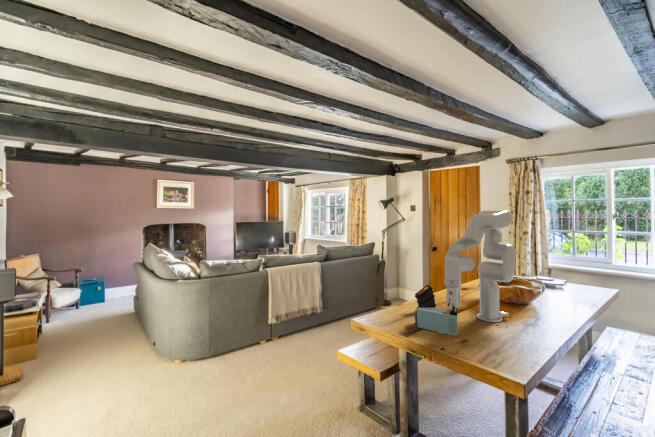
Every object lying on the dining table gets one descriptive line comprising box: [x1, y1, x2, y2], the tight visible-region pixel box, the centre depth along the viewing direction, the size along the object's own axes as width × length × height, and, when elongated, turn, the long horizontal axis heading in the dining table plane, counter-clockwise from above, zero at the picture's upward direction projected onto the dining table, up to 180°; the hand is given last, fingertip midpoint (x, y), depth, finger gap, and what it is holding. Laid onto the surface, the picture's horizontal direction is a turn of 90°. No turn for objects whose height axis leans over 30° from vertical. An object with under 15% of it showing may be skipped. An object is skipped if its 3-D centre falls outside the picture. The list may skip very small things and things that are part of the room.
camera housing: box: [413, 307, 448, 323], centre depth 161 cm, size 15×7×8 cm, turn 85°
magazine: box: [414, 284, 437, 308], centre depth 183 cm, size 4×13×15 cm, turn 113°
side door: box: [416, 307, 458, 337], centre depth 151 cm, size 20×2×10 cm, turn 52°
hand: (453, 319), depth 149 cm, fingers closed
